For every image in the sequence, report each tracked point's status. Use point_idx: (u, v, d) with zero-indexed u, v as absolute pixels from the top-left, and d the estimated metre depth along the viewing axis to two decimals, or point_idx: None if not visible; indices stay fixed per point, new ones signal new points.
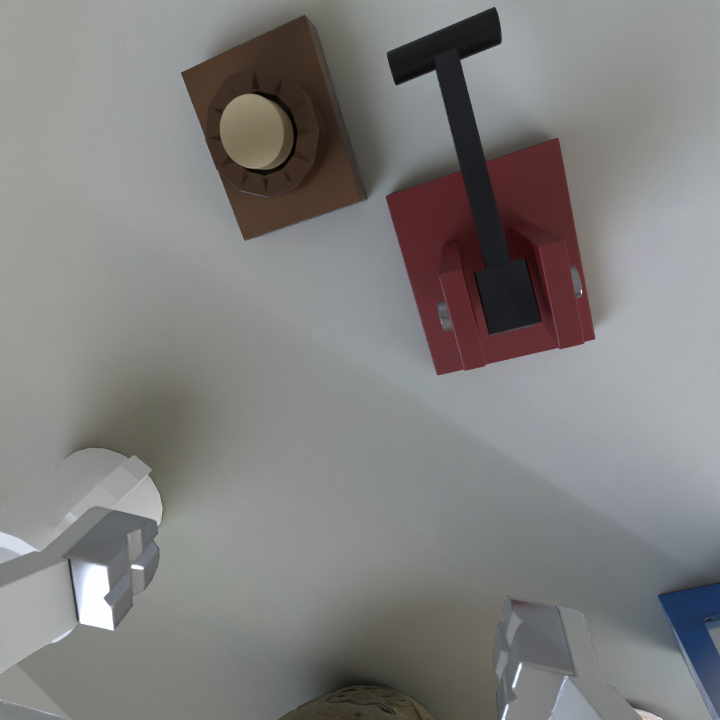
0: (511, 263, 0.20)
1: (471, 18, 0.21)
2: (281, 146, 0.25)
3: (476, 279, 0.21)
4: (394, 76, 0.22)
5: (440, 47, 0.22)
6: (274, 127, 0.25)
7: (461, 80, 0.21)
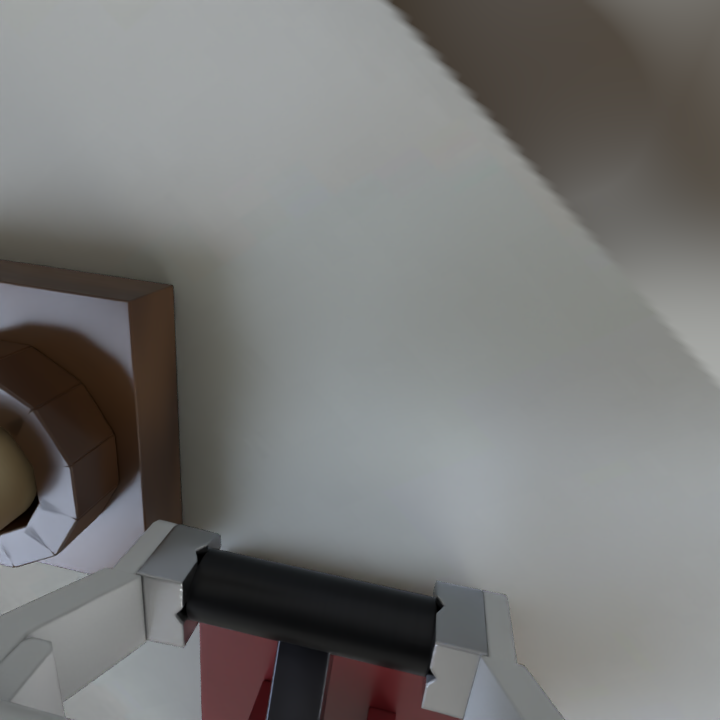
0: None
1: (379, 622, 0.09)
2: None
3: None
4: (193, 620, 0.10)
5: (296, 639, 0.10)
6: None
7: None
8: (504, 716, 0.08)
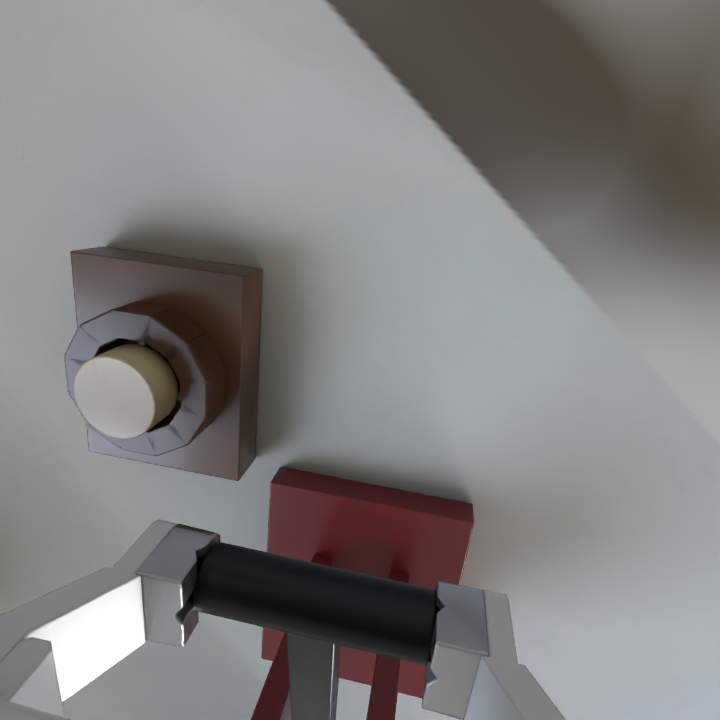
0: None
1: (377, 634, 0.10)
2: (145, 430, 0.19)
3: None
4: None
5: (302, 635, 0.10)
6: (143, 409, 0.19)
7: (326, 672, 0.11)
8: (505, 716, 0.08)
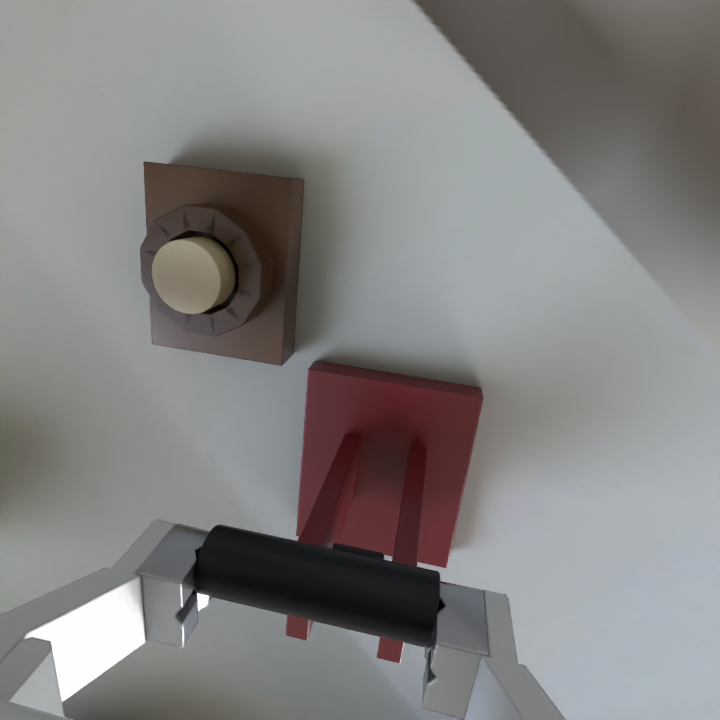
0: None
1: (378, 631, 0.10)
2: (211, 305, 0.23)
3: None
4: None
5: None
6: (210, 286, 0.23)
7: None
8: (505, 716, 0.08)
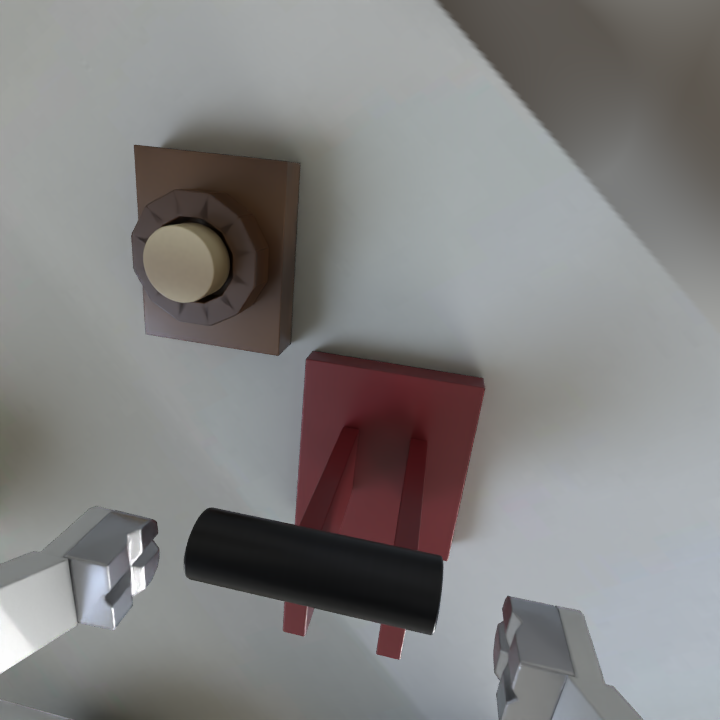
0: None
1: (378, 617, 0.09)
2: (205, 293, 0.23)
3: None
4: None
5: None
6: (204, 273, 0.22)
7: None
8: None
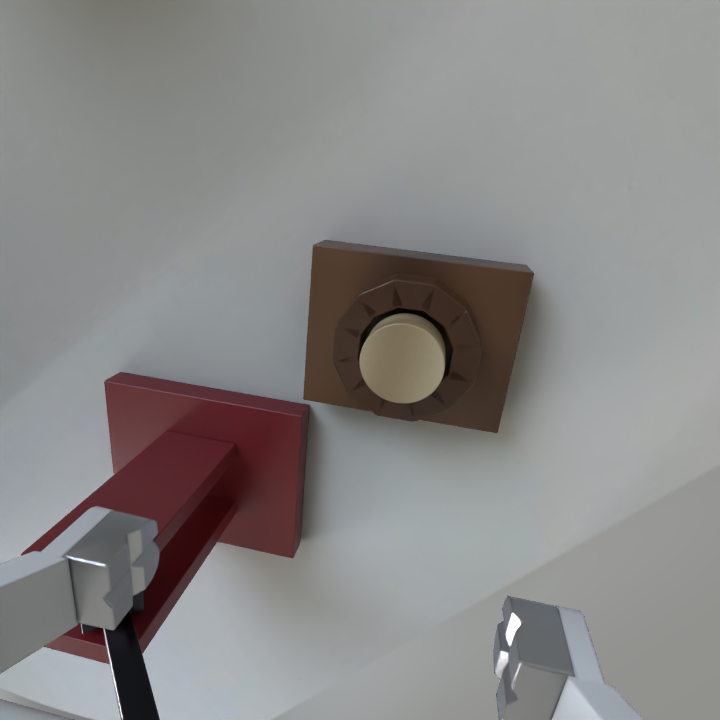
0: None
1: None
2: (370, 388, 0.21)
3: None
4: None
5: None
6: (392, 392, 0.21)
7: None
8: None
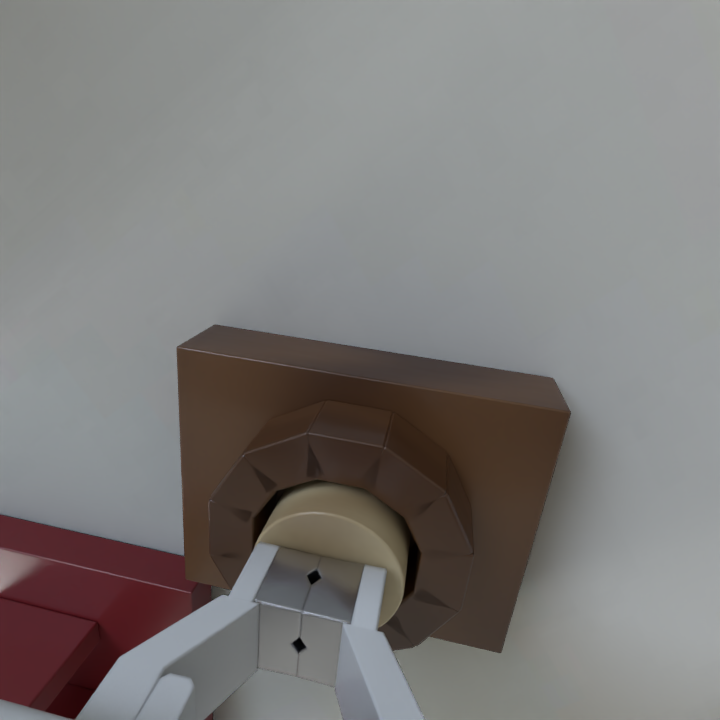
0: None
1: None
2: None
3: None
4: None
5: None
6: None
7: None
8: (355, 679, 0.08)
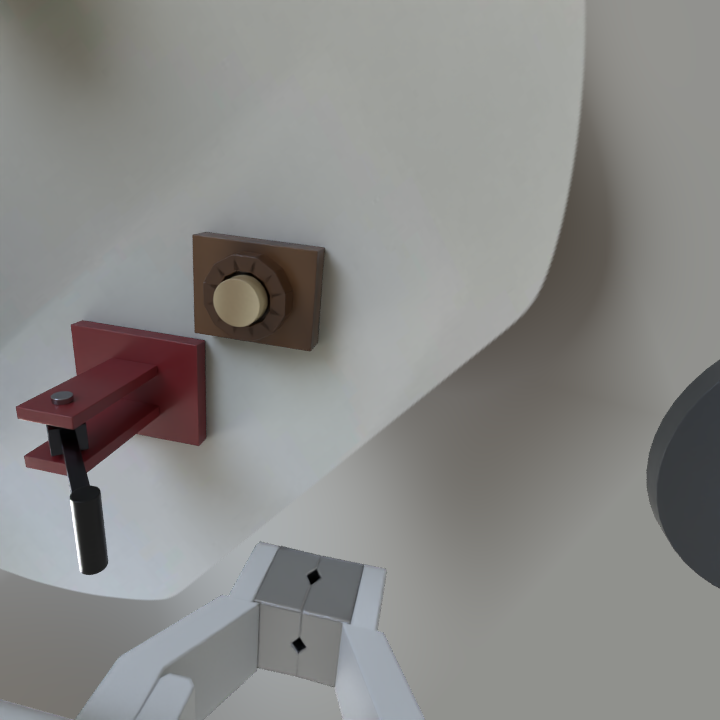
0: None
1: (80, 559, 0.27)
2: (221, 318, 0.36)
3: (47, 428, 0.34)
4: (76, 490, 0.26)
5: None
6: (233, 320, 0.35)
7: None
8: (355, 679, 0.08)
